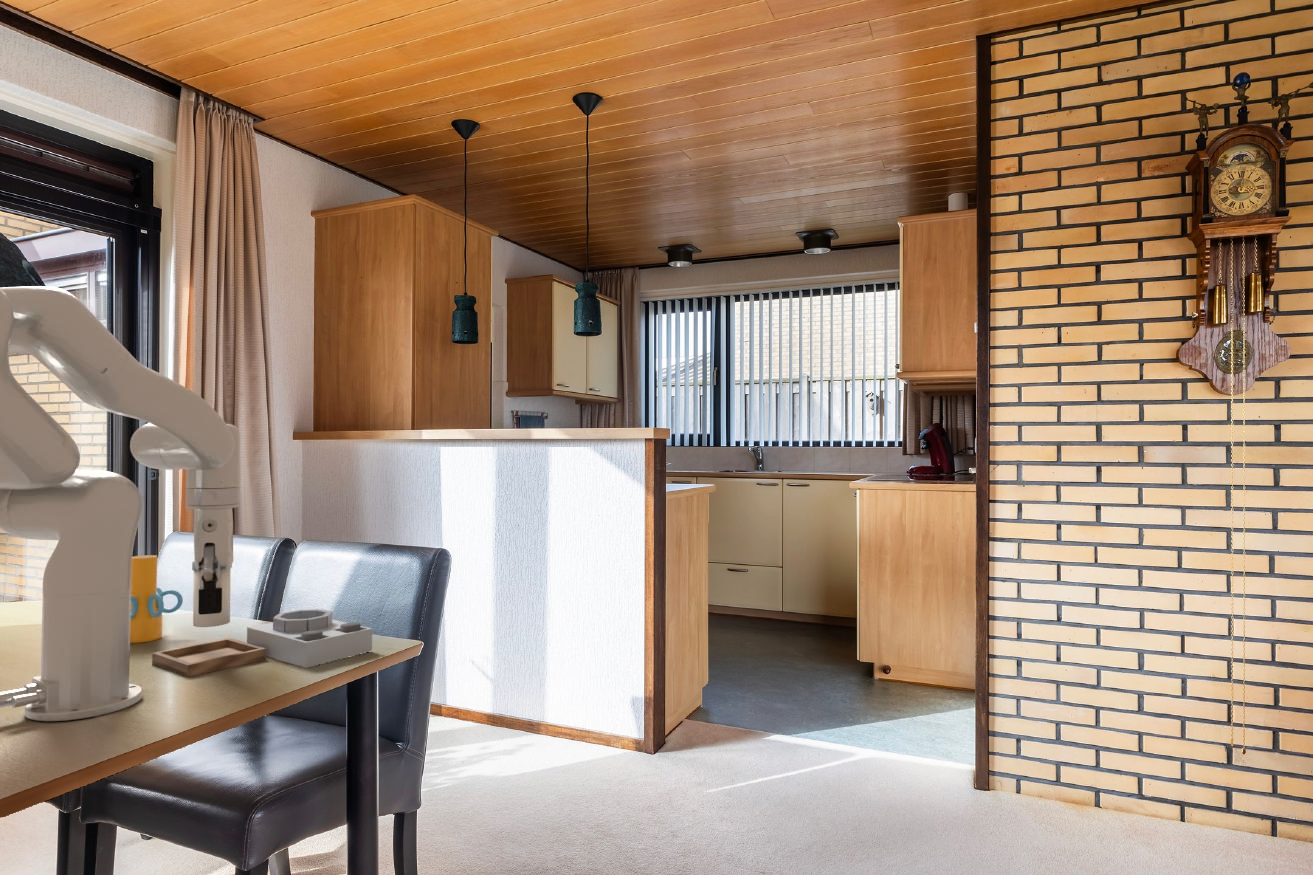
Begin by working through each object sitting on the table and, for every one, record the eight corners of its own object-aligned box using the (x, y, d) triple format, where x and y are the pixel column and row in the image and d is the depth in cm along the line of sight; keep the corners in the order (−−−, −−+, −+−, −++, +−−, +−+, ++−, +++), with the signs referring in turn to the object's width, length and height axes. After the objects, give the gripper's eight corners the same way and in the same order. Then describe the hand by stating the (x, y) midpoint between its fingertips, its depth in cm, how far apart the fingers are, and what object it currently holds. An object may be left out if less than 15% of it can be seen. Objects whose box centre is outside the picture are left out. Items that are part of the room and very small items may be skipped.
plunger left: (307, 657, 121) (308, 636, 121) (296, 654, 122) (297, 633, 122) (326, 653, 123) (326, 632, 123) (315, 650, 125) (315, 629, 125)
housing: (305, 667, 119) (306, 630, 119) (246, 650, 129) (247, 615, 130) (371, 651, 129) (372, 616, 129) (312, 636, 139) (312, 604, 139)
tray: (187, 676, 114) (187, 665, 114) (152, 663, 121) (152, 652, 121) (265, 659, 124) (266, 648, 124) (229, 648, 131) (229, 637, 131)
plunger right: (347, 648, 126) (347, 627, 126) (336, 645, 128) (336, 625, 128) (364, 644, 129) (364, 624, 129) (353, 641, 131) (353, 621, 131)
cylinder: (91, 641, 135) (93, 557, 135) (153, 629, 144) (154, 551, 144) (129, 650, 129) (131, 562, 129) (191, 637, 138) (192, 555, 139)
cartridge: (230, 625, 122) (230, 557, 122) (189, 628, 119) (190, 560, 119) (232, 617, 127) (233, 553, 127) (193, 621, 124) (194, 555, 124)
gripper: (235, 501, 117) (234, 618, 117) (242, 494, 132) (241, 597, 132) (178, 503, 114) (177, 623, 114) (192, 495, 129) (191, 601, 129)
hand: (212, 608), depth 123 cm, fingers closed on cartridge, 5 cm apart
